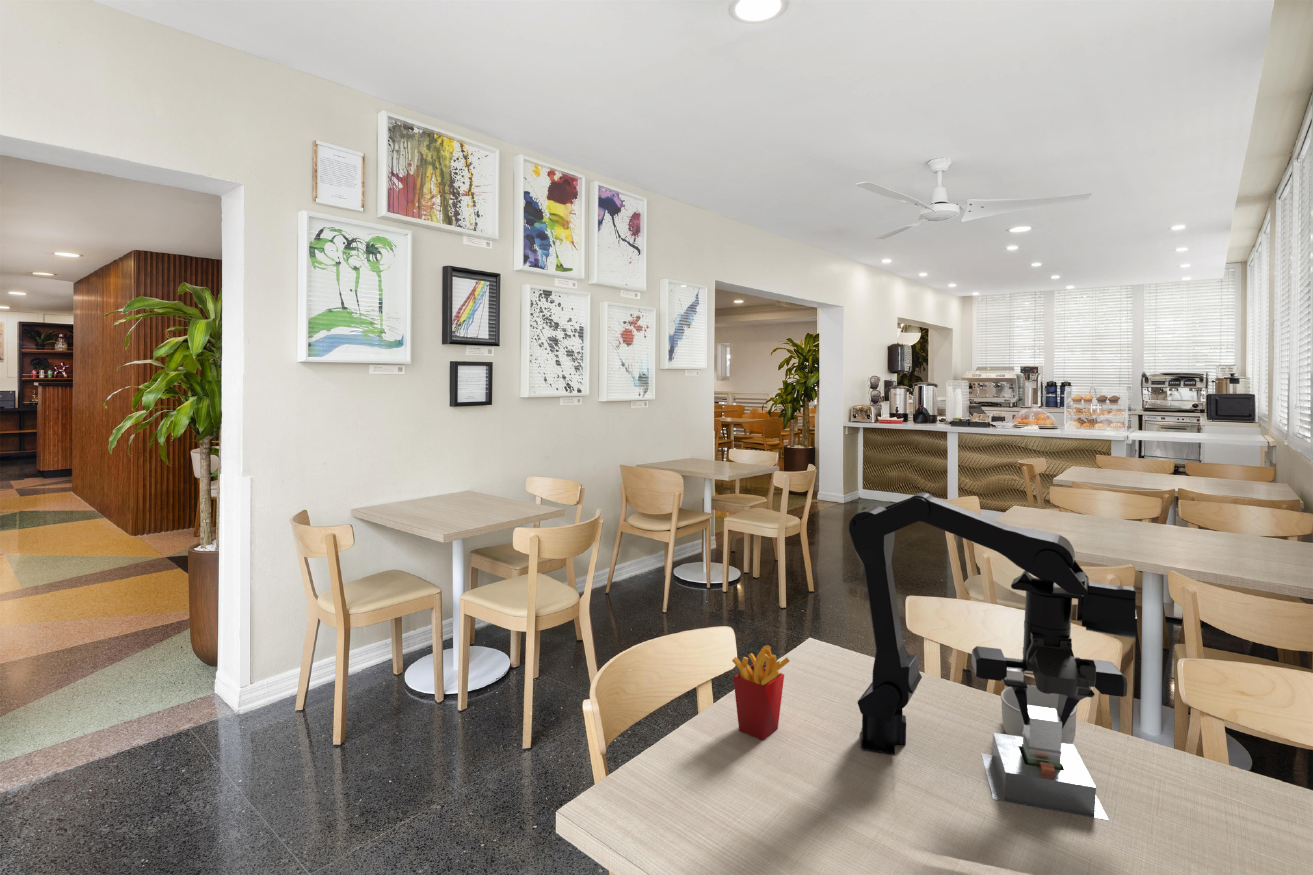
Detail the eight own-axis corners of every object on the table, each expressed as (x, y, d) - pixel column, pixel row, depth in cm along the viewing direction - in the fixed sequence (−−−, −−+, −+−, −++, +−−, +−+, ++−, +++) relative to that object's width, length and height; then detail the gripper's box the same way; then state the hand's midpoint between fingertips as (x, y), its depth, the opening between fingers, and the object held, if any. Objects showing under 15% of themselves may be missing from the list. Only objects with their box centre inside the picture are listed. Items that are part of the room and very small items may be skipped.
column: (1027, 764, 94) (1029, 717, 94) (1021, 748, 98) (1023, 704, 98) (1060, 769, 93) (1063, 722, 92) (1053, 753, 97) (1055, 708, 96)
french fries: (731, 731, 113) (731, 647, 112) (756, 712, 119) (757, 632, 118) (775, 749, 107) (776, 661, 106) (800, 728, 113) (801, 645, 112)
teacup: (1086, 767, 102) (1089, 718, 101) (1011, 759, 104) (1013, 711, 103) (1051, 721, 115) (1053, 677, 114) (985, 715, 117) (987, 672, 117)
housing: (993, 805, 93) (994, 765, 92) (980, 759, 104) (982, 723, 103) (1108, 826, 88) (1110, 784, 88) (1082, 775, 99) (1084, 738, 99)
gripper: (983, 635, 89) (979, 744, 91) (1145, 653, 83) (1138, 769, 85) (972, 608, 100) (969, 706, 101) (1116, 622, 94) (1110, 726, 95)
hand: (1042, 726), depth 95 cm, fingers closed on column, 4 cm apart
